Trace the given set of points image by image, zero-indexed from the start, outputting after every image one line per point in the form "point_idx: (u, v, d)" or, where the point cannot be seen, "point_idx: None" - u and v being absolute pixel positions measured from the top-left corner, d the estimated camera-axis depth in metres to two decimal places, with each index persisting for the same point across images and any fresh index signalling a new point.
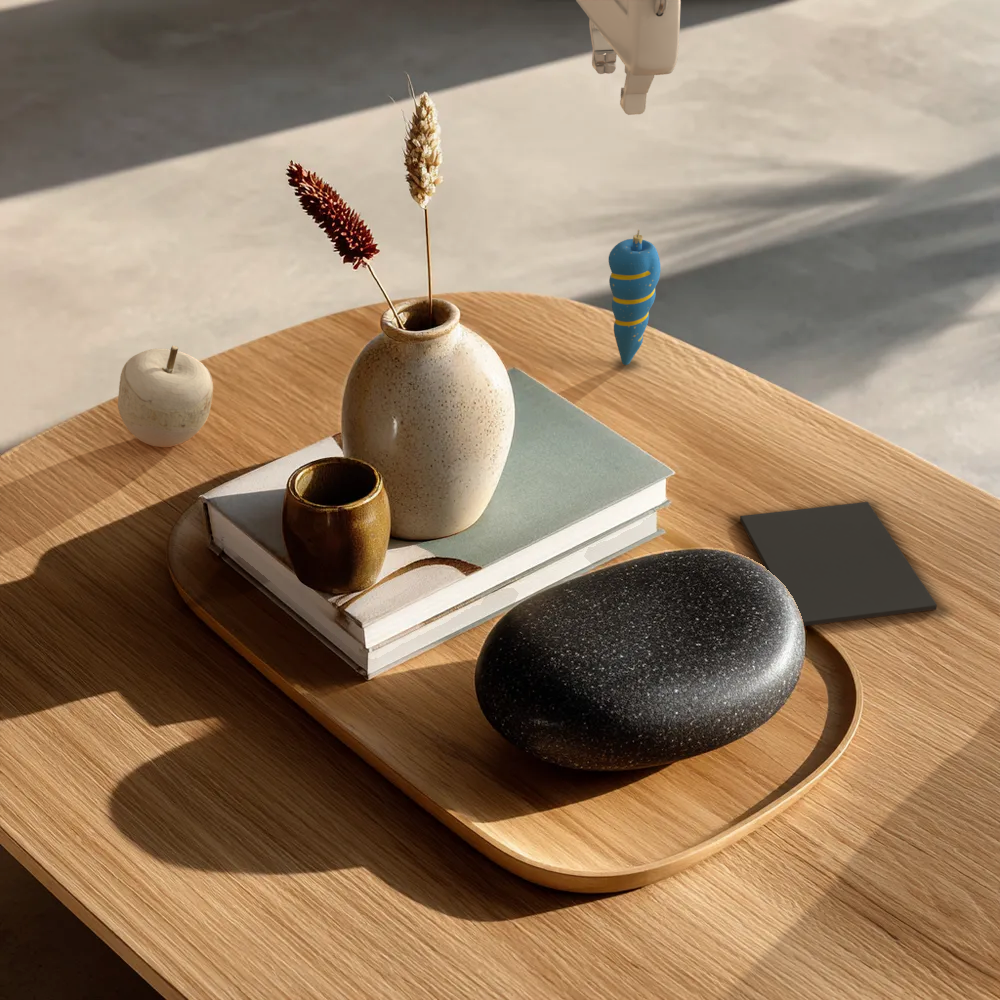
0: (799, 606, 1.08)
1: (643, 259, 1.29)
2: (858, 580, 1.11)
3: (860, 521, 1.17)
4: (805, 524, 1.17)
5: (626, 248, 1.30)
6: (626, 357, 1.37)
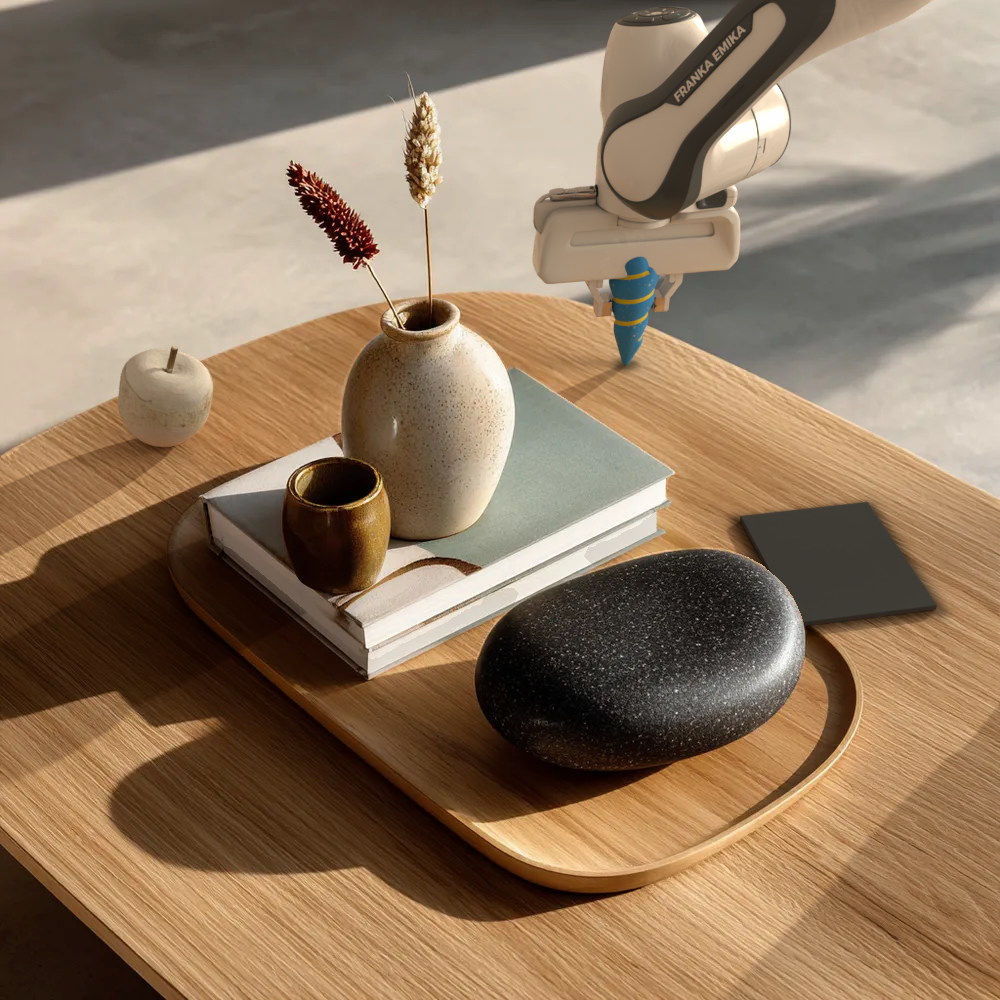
0: (799, 606, 1.08)
1: (643, 259, 1.29)
2: (858, 580, 1.11)
3: (860, 521, 1.17)
4: (805, 524, 1.17)
5: None
6: (626, 357, 1.37)
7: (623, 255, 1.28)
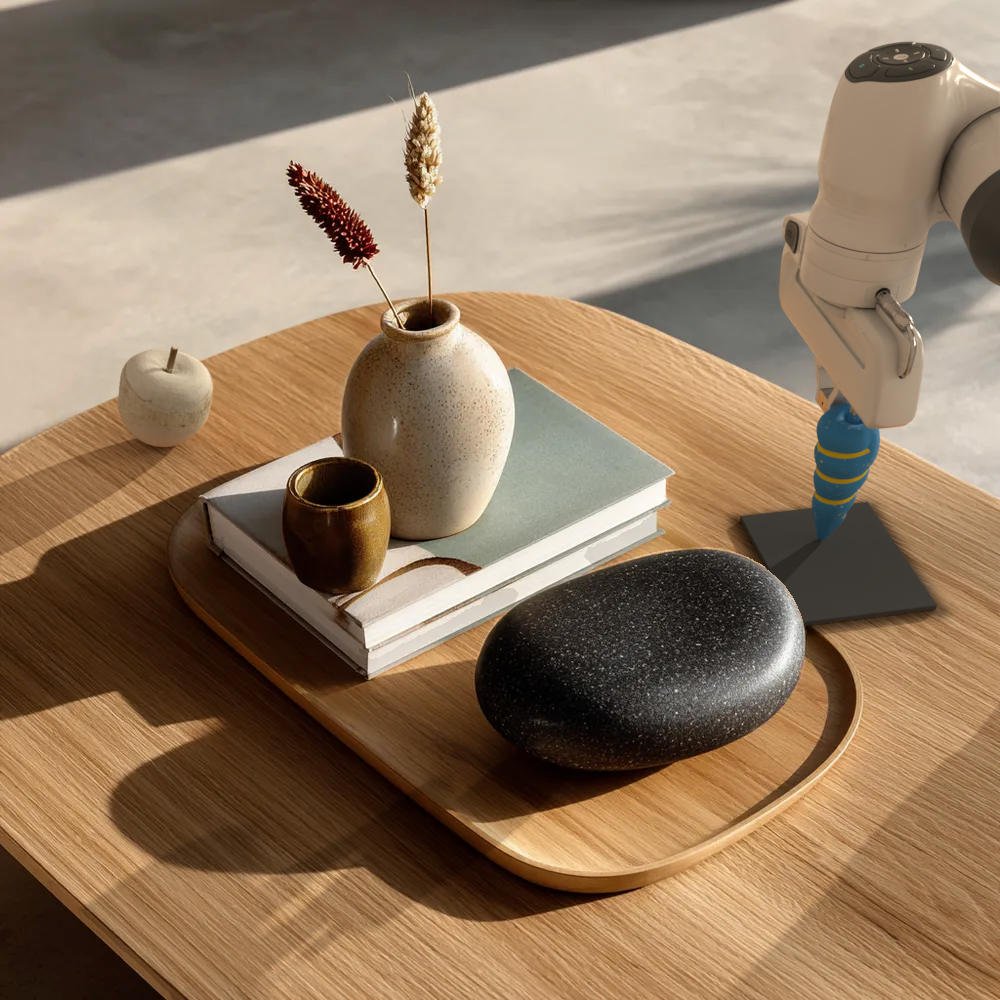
0: (799, 606, 1.08)
1: (864, 437, 1.05)
2: (858, 580, 1.11)
3: (860, 521, 1.17)
4: (805, 524, 1.17)
5: (842, 421, 1.06)
6: (824, 533, 1.14)
7: None
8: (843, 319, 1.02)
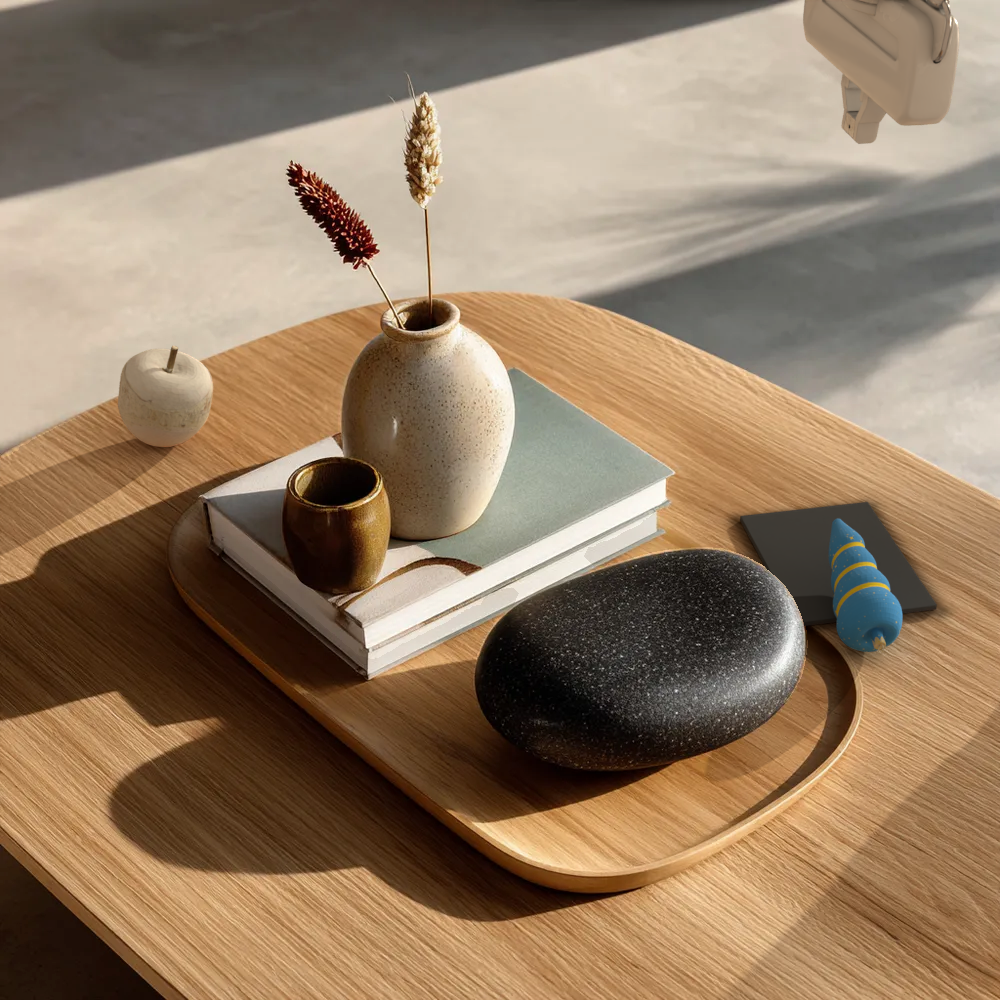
0: (799, 606, 1.08)
1: None
2: None
3: (860, 521, 1.17)
4: (805, 524, 1.17)
5: (861, 641, 1.03)
6: None
7: None
8: (873, 17, 0.99)
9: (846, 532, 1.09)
